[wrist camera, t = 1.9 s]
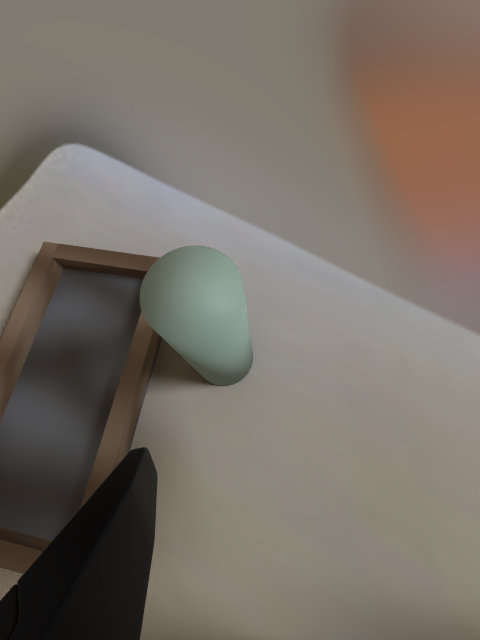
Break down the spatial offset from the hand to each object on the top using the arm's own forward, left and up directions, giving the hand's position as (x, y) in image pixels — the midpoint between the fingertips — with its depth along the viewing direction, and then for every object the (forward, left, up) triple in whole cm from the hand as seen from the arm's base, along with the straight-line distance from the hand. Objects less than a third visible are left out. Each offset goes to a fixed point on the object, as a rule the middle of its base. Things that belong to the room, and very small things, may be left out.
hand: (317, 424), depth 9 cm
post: (+4, +5, -13) cm, 14 cm away
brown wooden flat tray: (0, +15, -13) cm, 20 cm away
